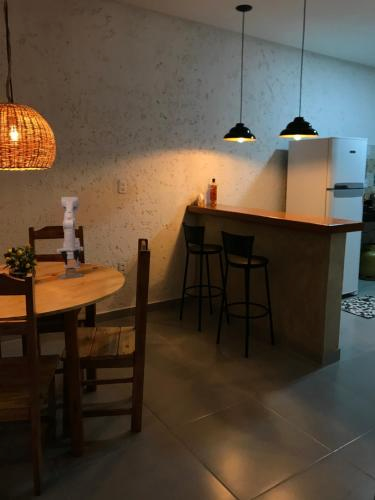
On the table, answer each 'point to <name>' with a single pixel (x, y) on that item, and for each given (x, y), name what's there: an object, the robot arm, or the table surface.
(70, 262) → the terracotta brick
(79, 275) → the baseplate
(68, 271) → the walnut brick
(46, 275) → the table surface
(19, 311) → the table surface
